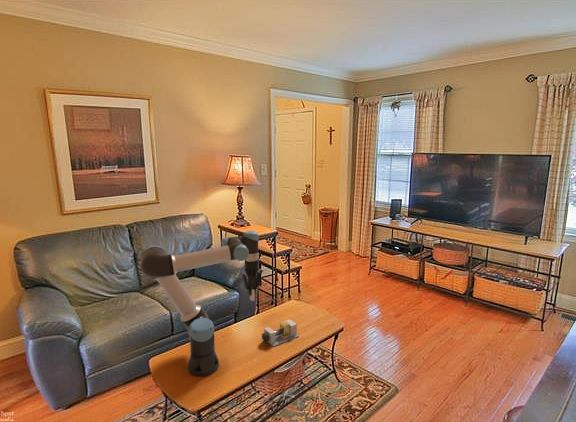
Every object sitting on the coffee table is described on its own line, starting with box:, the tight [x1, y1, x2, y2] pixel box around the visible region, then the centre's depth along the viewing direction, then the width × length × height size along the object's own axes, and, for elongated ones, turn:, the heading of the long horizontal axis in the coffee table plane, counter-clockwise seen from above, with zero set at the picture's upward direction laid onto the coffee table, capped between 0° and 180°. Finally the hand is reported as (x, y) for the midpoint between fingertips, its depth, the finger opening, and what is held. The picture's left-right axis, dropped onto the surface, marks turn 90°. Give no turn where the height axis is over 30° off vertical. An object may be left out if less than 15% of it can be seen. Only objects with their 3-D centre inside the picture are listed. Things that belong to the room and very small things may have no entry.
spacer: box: [279, 320, 290, 337], centre depth 198 cm, size 4×4×7 cm
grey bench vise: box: [263, 319, 299, 348], centre depth 196 cm, size 18×11×7 cm, turn 126°
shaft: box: [261, 328, 283, 343], centre depth 193 cm, size 12×5×5 cm, turn 126°
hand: (252, 300), depth 189 cm, fingers closed
